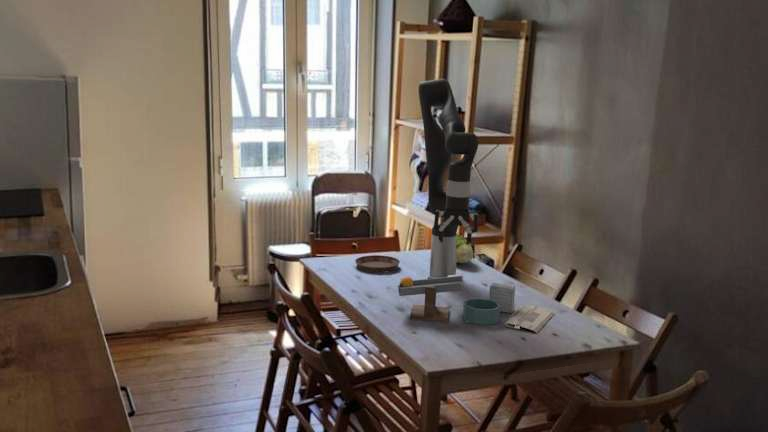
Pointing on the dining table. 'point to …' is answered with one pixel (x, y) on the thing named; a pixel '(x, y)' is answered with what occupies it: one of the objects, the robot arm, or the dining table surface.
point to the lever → (440, 285)
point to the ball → (406, 282)
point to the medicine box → (503, 296)
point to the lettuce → (463, 250)
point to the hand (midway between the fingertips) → (454, 243)
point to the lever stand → (429, 308)
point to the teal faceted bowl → (481, 311)
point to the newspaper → (529, 317)
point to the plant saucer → (377, 263)
